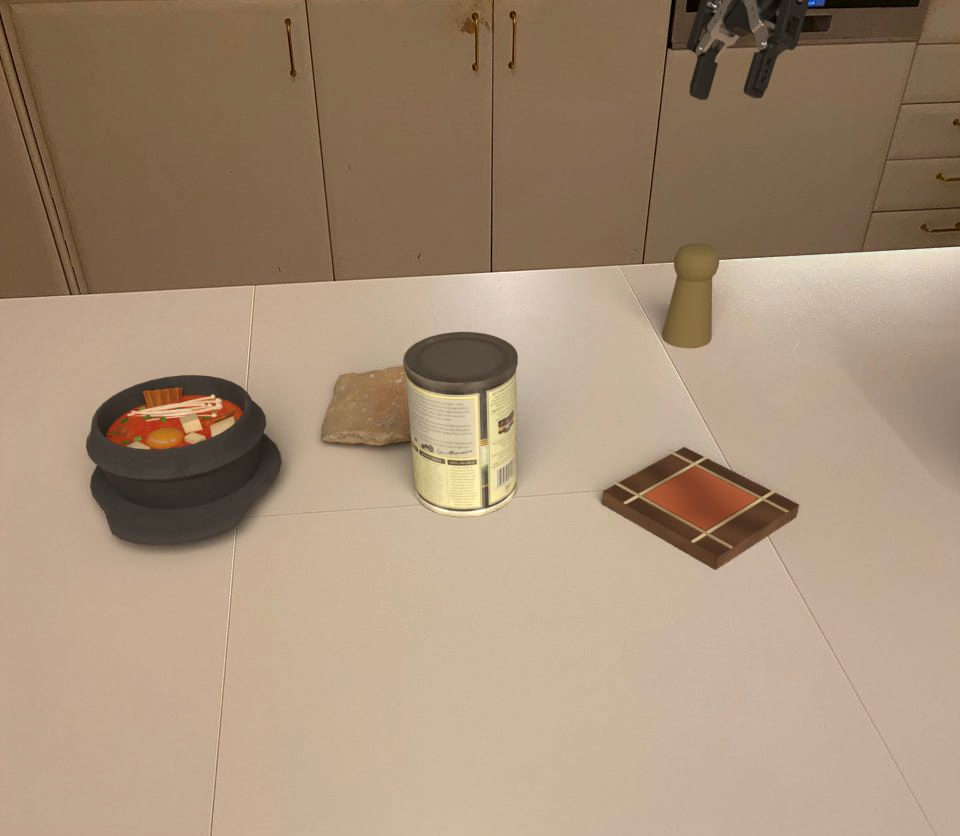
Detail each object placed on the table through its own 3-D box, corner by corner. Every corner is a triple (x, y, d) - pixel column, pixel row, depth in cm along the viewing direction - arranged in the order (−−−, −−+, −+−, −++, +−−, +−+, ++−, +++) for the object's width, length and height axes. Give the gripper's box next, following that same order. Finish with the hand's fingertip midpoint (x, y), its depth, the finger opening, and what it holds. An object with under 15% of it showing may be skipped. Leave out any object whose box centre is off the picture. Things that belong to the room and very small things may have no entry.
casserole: (116, 429, 107) (94, 357, 102) (287, 416, 109) (275, 344, 103) (73, 569, 89) (44, 492, 83) (280, 552, 90) (265, 474, 85)
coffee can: (423, 457, 102) (414, 328, 93) (522, 463, 101) (523, 333, 91) (403, 514, 95) (392, 380, 85) (510, 521, 93) (510, 386, 84)
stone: (438, 389, 113) (437, 363, 111) (408, 460, 101) (406, 432, 99) (345, 383, 114) (342, 357, 112) (306, 452, 103) (301, 425, 101)
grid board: (682, 459, 101) (684, 445, 100) (796, 517, 93) (800, 503, 92) (601, 504, 95) (602, 490, 94) (715, 570, 87) (718, 556, 86)
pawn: (660, 346, 120) (671, 255, 113) (663, 324, 124) (673, 236, 117) (711, 349, 119) (724, 258, 112) (711, 327, 124) (724, 239, 116)
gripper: (856, -77, 94) (797, 108, 100) (753, -57, 106) (705, 109, 111) (803, -111, 90) (745, 83, 96) (702, -86, 102) (655, 87, 107)
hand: (723, 97), depth 103 cm, fingers open, 8 cm apart
